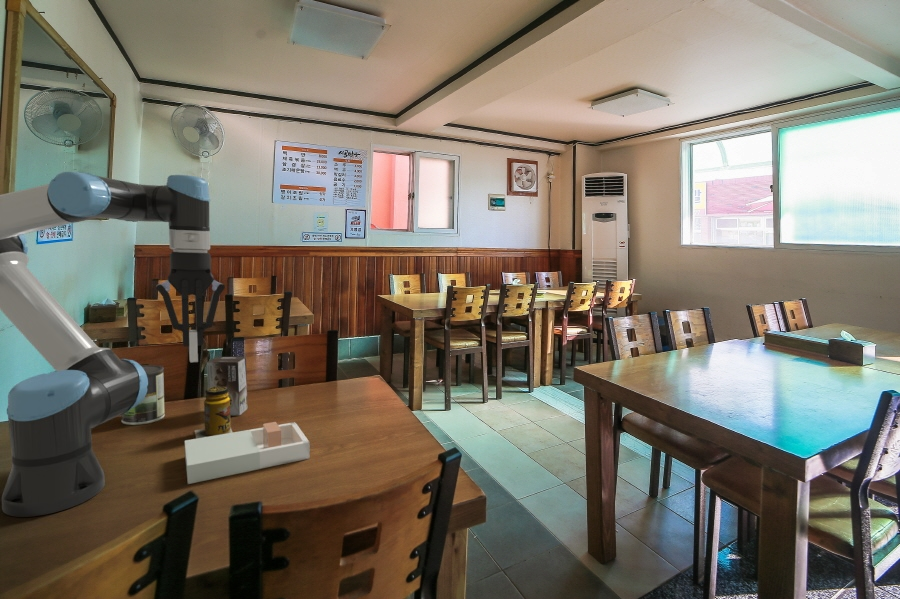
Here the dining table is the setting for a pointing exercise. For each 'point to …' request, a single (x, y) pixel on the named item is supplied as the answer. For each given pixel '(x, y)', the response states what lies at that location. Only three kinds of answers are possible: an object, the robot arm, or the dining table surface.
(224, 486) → the dining table surface
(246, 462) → the white flat block
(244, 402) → the coffee box
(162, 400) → the coffee can
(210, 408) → the condiment
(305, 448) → the box
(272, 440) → the tile
